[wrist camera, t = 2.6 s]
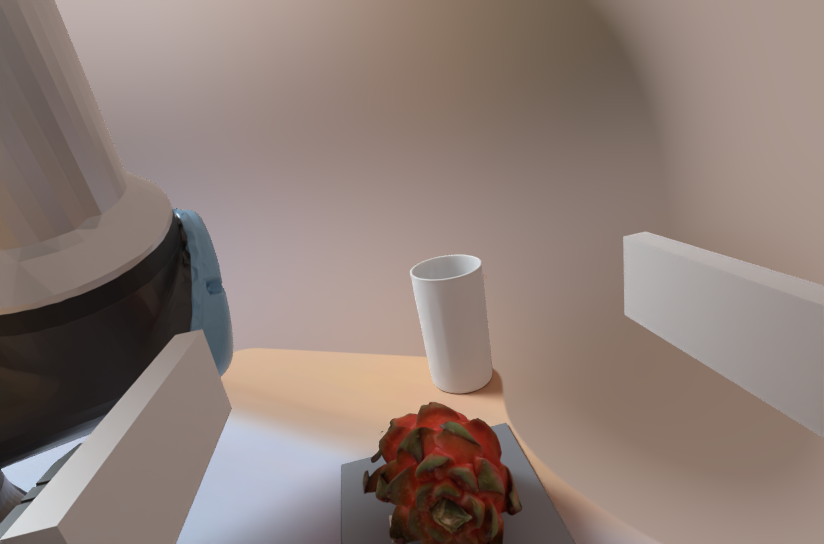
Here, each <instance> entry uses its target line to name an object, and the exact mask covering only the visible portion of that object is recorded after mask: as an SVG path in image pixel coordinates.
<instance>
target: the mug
mask: <svg viewBox="0 0 824 544" xmlns="http://www.w3.org/2000/svg"><path fill="white" fill-rule="evenodd" d="M410 275H411V279H412V284H413V290H414V295H415V299H416V305H417V310H418V314H419V319H420V324H421V329H422V333H423V338H424V343H425V348H426V353H427V358H428V363H429V367H430V372H431V377H432V381H433V383H434V385H435V386H436V387H437V388H439V389H440V390H442V391H445V392H449V393H468V392H472V391H475V390H478V389H480V388H482V387H484V386H485V385H486V384H487V383H488V382H489V381H490V380H491V378H492V373H493V372H492V362H491V350H490V341H489V331H488V321H487V310H486V300H485V290H484V280H483V272H482V262H481V260H480V259H479V258H477V257H474V256H470V255H447V256H440V257H436V258H432V259H428V260H425V261H423V262H421V263H418V264H417V265H415V266H414V267H413V268H412V269H411V271H410Z"/></svg>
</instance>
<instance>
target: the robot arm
mask: <svg viewBox="0 0 824 544" xmlns="http://www.w3.org/2000/svg"><path fill="white" fill-rule="evenodd" d="M623 240H624V304H625V305H624V306H625V315H626V316H628V317H629V318H631V319H632V320H634V321H636V322H637V323H639V324H641V325H642V326H644V327H645V328H647V329H649V330H650V331H652V332H653V333H655V334H657V335H658V336H660V337H662V338H663V339H665V340H666V341H668V342H669V343H671V344H673V345H674V346H676V347H678V348H679V349H681V350H682V351H684V352H686V353H687V354H689V355H690V356H692V357H694V358H695V359H697V360H698V361H700V362H702V363H703V364H705V365H707V366H708V367H710V368H711V369H713V370H715V371H716V372H718V373H720V374H721V375H723V376H724V377H726V378H727V379H729V380H731V381H732V382H734V383H736V384H737V385H739V386H740V387H742V388H744V389H745V390H747V391H749V392H750V393H752V394H753V395H755V396H757V397H758V398H760V399H761V400H763V401H765V402H766V403H768V404H769V405H771V406H773V407H774V408H776V409H778V410H779V411H781V412H782V413H784V414H786V415H787V416H789V417H790V418H792V419H794V420H795V421H797V422H799V423H800V424H802V425H803V426H805V427H806V428H808V429H810V430H811V431H813V432H815V433H816V434H818V435H820V436H821V437H823V438H824V286H823V285H820V284H817V283H814V282H810V281H807V280H804V279H800V278H797V277H794V276H790V275H787V274H784V273H780V272H777V271H774V270H771V269H767V268H764V267H761V266H757V265H754V264H751V263H748V262H744V261H741V260H738V259H734V258H731V257H728V256H724V255H721V254H718V253H715V252H711V251H708V250H704V249H701V248H698V247H695V246H692V245H688V244H685V243H681V242H678V241H675V240H672V239H668V238H665V237H662V236H659V235H655V234H652V233H648V232H642V233H637V234H633V235H628V236H624V237H623ZM221 284H222V279H221V274H220V269H219V263H218V260H217V256H216V253H215V250H214V247H213V244H212V241H211V238H210V235H209V233H208V230H207V228H206V226H205V224H204V222H203V220H202V218H201V217H200V216H199V215H198V214H197V213H196V212H194V211H192V210H181V209H177V208H176V209H172V206H171V203H170V201H169V199H168V197H167V195H166V194H165V193H164V192H163V190H162V189H161V188H160V187H159V186H157V185H156V184H155V183H153V182H151V181H149V180H147V179H145V178H143V177H140V176H138V175H135V174H133V173H130V172H128V171H125V170H124V168H123V165H122V163H121V161H120V158H119V156H118V153H117V151H116V148H115V146H114V143H113V141H112V139H111V136H110V134H109V131H108V129H107V127H106V124H105V122H104V119H103V117H102V114H101V112H100V110H99V107H98V105H97V102H96V100H95V98H94V95H93V93H92V90H91V88H90V85H89V83H88V80H87V78H86V76H85V73H84V71H83V68H82V66H81V63H80V61H79V59H78V56H77V54H76V51H75V49H74V47H73V44H72V42H71V39H70V37H69V34H68V32H67V29H66V27H65V25H64V22H63V20H62V17H61V15H60V12H59V10H58V8H57V5H56V3H55V0H0V544H176V542H177V539H178V537H179V535H180V532H181V530H182V527H183V525H184V523H185V520H186V518H187V515H188V513H189V510H190V508H191V506H192V503H193V501H194V498H195V496H196V494H197V491H198V489H199V486H200V484H201V481H202V479H203V477H204V474H205V472H206V469H207V467H208V464H209V462H210V460H211V457H212V455H213V452H214V450H215V448H216V445H217V443H218V440H219V438H220V435H221V433H222V431H223V428H224V426H225V423H226V421H227V419H228V416H229V414H230V411H231V409H232V408H231V405H230V402H229V400H228V397H227V394H226V392H225V389H224V386H223V383H222V381H221V378H220V377H221V376H222V375H223V374H224V373H225V372H226V370H227V369H228V367H229V365H230V363H231V360H232V356H233V334H232V325H231V318H230V312H229V306H228V302H227V297H226V293H225V291H224V288H223V287H222V285H221ZM89 434H90V435H89ZM86 435H89V436H88V437H87V439H86V440H85V441H84V442H83V443H80V444H78V445H77V446H76V447H75V448H73V449H72V450H71V451H69V452H68V453H67V454H65V455H64V456H63V457H62V458H60V459H59V460H58V461H56V462H55V463H54V464H53V465H52V466H51V467H50V469H49V470H48V471H47V472H46V473H45V474H44V475H43V476H42V478H41V479H40V480H39V481H38V482H37V483H36V487H33V488H32V489H31V490H30V491H29V492H28V493H27V492H25V491H23V490H22V489H20V488H19V487H17V486H15V485H14V484H12V483H11V482H9V481H8V479H7V478H6V477H5V475H4V474H3V472H2V471H1V469H2V468H4V467H6V466H9V465H12V464H14V463H17V462H19V461H22V460H24V459H27V458H30V457H32V456H35V455H37V454H40V453H42V452H45V451H48V450H50V449H53V448H55V447H58V446H60V445H63V444H66V443H68V442H71V441H73V440H76V439H78V438H81V437H84V436H86Z"/></svg>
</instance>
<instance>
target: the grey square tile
mask: <svg viewBox="0 0 824 544" xmlns="http://www.w3.org/2000/svg"><path fill="white" fill-rule="evenodd" d="M491 428H492V430H493V431H494V432H495V433H496V435H497V437H498V440H499V442H500V446H501V451H502V455H501V459H500V461H501V463H502V464H504V465H506V466H507V467H508V468H509V470H510V472H511V474H512V477H513V480H514V484H515V488H516V490H517V493H518V497H519V500H520V502H521V505H522V510H521V511H520V512H518V513H516V514H515V515H513V516H512V515H509V514H508V513H507V512H504V513H501V517H502V519H503V521H504V536H503V544H575V542H574V540H573V539H572V537H571V535H570V533H569V532H568V530H567V528H566V526H565V525H564V523H563V521H562V519H561V518H560V516H559V514H558V512H557V511H556V509H555V507H554V505H553V504H552V502H551V500H550V499H549V497H548V495H547V493H546V492H545V490H544V488H543V486H542V485H541V483H540V481H539V479H538V478H537V476H536V474H535V472H534V471H533V469H532V467H531V465H530V464H529V462H528V460H527V458H526V457H525V455H524V453H523V451H522V450H521V448H520V446H519V445H518V443H517V441H516V439H515V438H514V436H513V434H512V432H511V431H510V429H509V427H508V425H507V424H506V423H504V424H500V425H496V426H492V427H491ZM371 458H372V457H370V458H366V459H362V460H358V461H354V462H351V463H347V464H343V465H341V544H395V542H394V541H393V540H392V539H391V538H390V535H389V530H390V527H391V519H392V515H393V512H394V509H395V507H396V506H397V505H394V504H392V503H390V502H389V503H386V502H382V501H380V500H378V499H377V498H376V494H375V492H373V493H366V494H364V491H363V484H362V482H363V476H364V472H365V471H367V470H368V472H369V477H370V476H371V475H372V474H373V472H374V471H375V470H376V469H378V468H379V467H381V466H382V465H384V464H387V463H386V462H385V460H384V459H383V457H382V455H381V457H380V459H379V460H378V461H376V462H375V463H372V462H371ZM385 501H386V500H385ZM407 544H422V542H421V540H419V541H414V542H410V543H407Z"/></svg>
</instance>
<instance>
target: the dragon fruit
mask: <svg viewBox="0 0 824 544" xmlns="http://www.w3.org/2000/svg"><path fill="white" fill-rule="evenodd" d="M390 425H391V426H390V427H389V430H388V432H387V433H386V434H385V435H384V436H383V437H382V439H381V440H380V441H379V451H378V452H377V454H376V455H374V456H373V457H372V458H371V462H372V463H375V462H376V461H378V460H379V459H380V457H381V455H382V457H383V459H384V460H385V462H386V463H387V464H384V465H382V466H381V467H379V468H378V469H376V470H375V471H374V472H373V474H372V475H371V476H370V477H369V472H368V470H367V471H365V472H364V476H363V482H362V484H363V491H364V494H366V493H373V492H375V494H376V498H377V499H378V500H380V501H382V502H386V503H389V502H390V503H392V504H394V505H397V506H396V507H395V509H394V512H393V515H392V519H391V527H390V530H389V535H390V538H391V539H392V540H393V541H394V542H395V544H407V543H410V542H414V541H419V540H421V542H422V544H503V536H504V521H503V519H502V517H501V513H504V512H507V513H508V514H509V515H512V516H513V515H515V514H516V513H518V512H520V511H521V510H522V505H521V502H520V500H519V497H518V493H517V490H516V488H515V484H514V480H513V477H512V474H511V472H510V470H509V468H508V467H507V466H506V465H504V464H502V463H501V461H500V459H501V455H502V451H501V446H500V442H499V440H498V437H497V435H496V433H495V432H494V431H493V430H492V428H491V427H490V426H488V425H487V424H486V423H485V422H484V421H482V420H480V419H479V418H476V419H473V420H470V421H469V420H468V419H467V418H466V417H465V416H464V415H463V414H461V413H458V412H456V411H454V410H452V409H451V408H449V407H447V406H445V405H443V404H439V403H436V402H430V403H429V405H422V406H421V408H420V410H419V413H418V415H417V414H407V415H405V416H404V417H401V418H395V419H392V420H391V421H390ZM382 432H383V431H382ZM385 500H386V501H385Z"/></svg>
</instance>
